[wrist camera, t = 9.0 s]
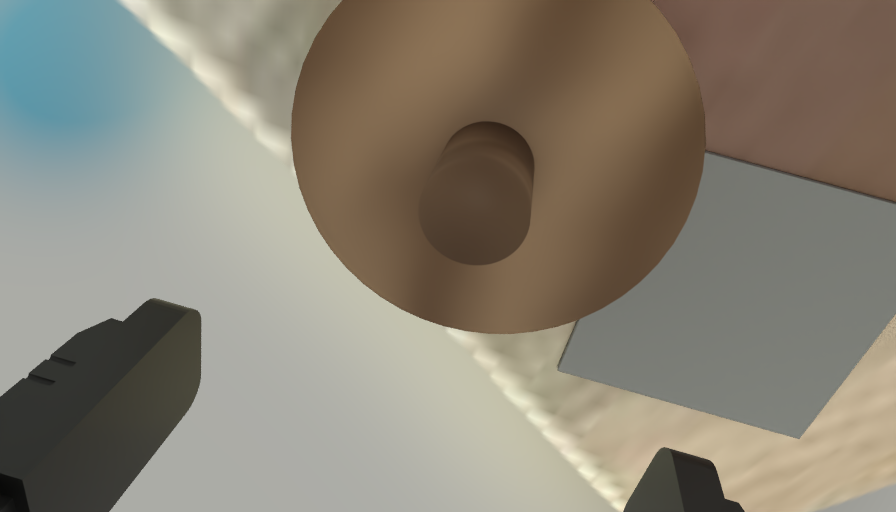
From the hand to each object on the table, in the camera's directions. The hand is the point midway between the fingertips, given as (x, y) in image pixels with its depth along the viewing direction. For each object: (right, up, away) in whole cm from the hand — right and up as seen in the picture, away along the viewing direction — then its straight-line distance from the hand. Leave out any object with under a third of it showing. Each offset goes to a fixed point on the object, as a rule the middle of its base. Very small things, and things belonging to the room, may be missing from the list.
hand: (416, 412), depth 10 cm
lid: (+2, +6, +11) cm, 13 cm away
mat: (+16, 0, +22) cm, 27 cm away
